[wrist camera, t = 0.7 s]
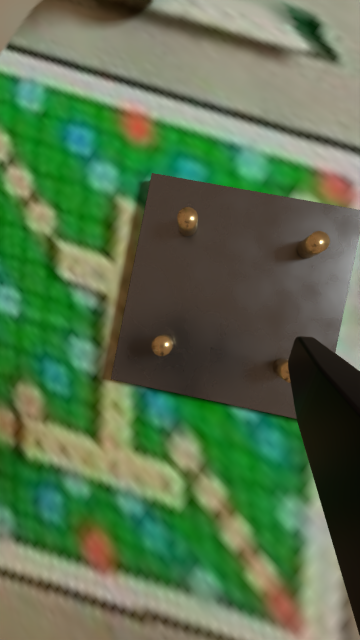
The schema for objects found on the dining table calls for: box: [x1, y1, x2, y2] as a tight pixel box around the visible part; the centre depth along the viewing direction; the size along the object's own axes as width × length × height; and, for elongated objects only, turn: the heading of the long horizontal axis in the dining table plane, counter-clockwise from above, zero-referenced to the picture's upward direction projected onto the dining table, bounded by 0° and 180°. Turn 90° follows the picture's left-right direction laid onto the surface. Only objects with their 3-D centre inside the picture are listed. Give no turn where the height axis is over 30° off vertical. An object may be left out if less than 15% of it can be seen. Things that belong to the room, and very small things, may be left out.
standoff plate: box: [111, 173, 360, 419], centre depth 21 cm, size 16×16×3 cm
